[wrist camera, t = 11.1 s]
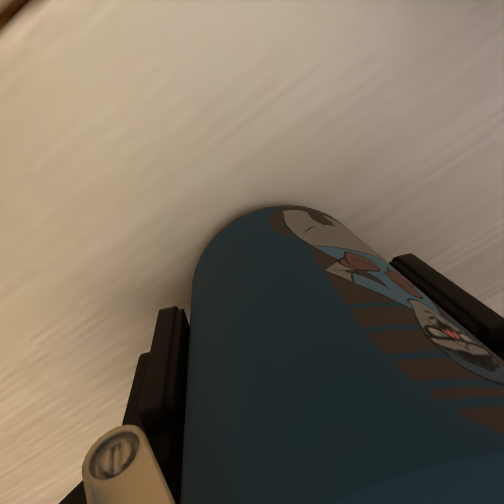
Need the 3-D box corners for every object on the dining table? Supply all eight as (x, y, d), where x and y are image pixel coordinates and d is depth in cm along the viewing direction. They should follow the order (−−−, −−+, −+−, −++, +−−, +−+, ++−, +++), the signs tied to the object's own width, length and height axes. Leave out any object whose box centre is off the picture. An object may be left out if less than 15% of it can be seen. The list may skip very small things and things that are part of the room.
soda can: (220, 355, 15) (264, 961, 4) (168, 224, 12) (-93, 1117, 1) (358, 314, 15) (725, 802, 5) (339, 174, 12) (1281, 638, 2)
